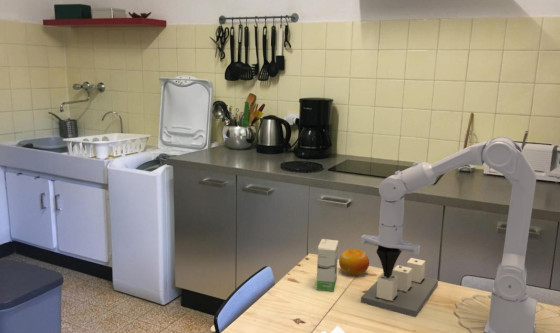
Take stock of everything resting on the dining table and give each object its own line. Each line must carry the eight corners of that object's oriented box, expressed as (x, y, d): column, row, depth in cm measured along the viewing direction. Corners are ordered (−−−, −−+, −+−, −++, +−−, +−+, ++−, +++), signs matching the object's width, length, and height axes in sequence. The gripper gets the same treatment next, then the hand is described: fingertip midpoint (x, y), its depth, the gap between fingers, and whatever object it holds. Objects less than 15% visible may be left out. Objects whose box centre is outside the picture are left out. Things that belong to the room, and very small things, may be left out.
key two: (411, 286, 127) (412, 267, 126) (406, 291, 123) (407, 272, 122) (396, 282, 129) (397, 264, 128) (391, 287, 125) (392, 269, 124)
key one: (424, 277, 132) (425, 260, 131) (420, 282, 129) (421, 264, 128) (409, 274, 134) (411, 257, 133) (405, 279, 131) (406, 261, 130)
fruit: (329, 260, 139) (346, 240, 137) (343, 263, 146) (359, 243, 144) (347, 281, 134) (365, 260, 132) (361, 283, 140) (378, 263, 139)
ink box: (334, 292, 126) (335, 249, 124) (315, 290, 127) (317, 248, 125) (337, 279, 134) (338, 239, 132) (319, 277, 135) (321, 238, 133)
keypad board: (437, 284, 132) (438, 279, 132) (415, 317, 113) (416, 311, 113) (388, 273, 139) (389, 268, 139) (360, 302, 120) (361, 296, 120)
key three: (396, 294, 121) (398, 276, 120) (391, 300, 118) (393, 281, 117) (381, 291, 123) (382, 272, 122) (376, 296, 120) (377, 277, 119)
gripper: (425, 224, 117) (420, 276, 119) (369, 215, 124) (366, 264, 126) (417, 232, 111) (413, 286, 113) (358, 221, 118) (356, 273, 120)
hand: (387, 275), depth 119 cm, fingers closed
